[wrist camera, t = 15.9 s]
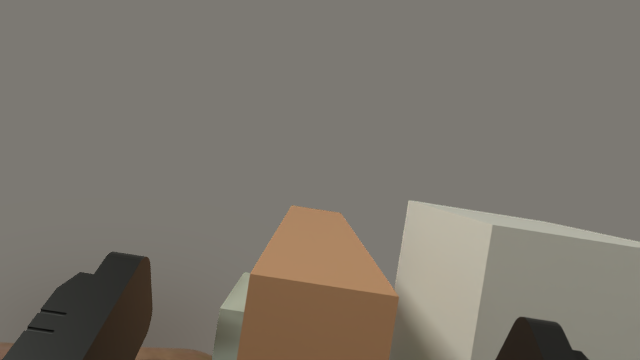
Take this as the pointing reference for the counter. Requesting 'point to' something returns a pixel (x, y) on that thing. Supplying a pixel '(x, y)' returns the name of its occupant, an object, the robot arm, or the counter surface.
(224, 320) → the tower
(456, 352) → the stand
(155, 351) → the counter surface
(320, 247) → the bar
